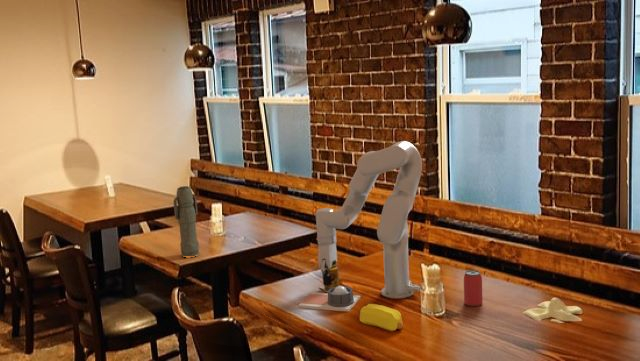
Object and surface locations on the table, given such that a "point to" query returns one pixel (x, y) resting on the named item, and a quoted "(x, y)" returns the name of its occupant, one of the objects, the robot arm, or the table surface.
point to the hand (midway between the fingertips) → (330, 281)
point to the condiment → (332, 277)
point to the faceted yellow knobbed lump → (381, 317)
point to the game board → (326, 307)
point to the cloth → (554, 311)
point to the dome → (340, 290)
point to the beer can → (473, 288)
